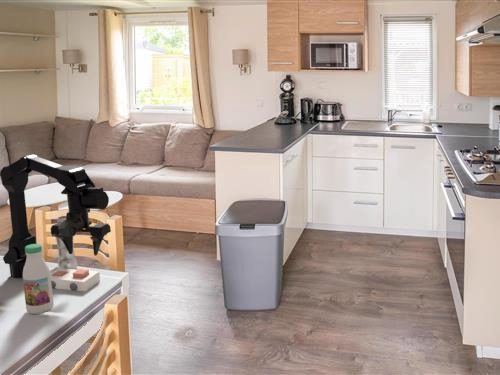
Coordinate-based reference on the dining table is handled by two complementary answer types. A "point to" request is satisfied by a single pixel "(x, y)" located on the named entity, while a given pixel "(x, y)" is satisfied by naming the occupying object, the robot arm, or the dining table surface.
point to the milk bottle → (37, 281)
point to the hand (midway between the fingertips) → (83, 254)
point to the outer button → (80, 273)
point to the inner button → (60, 273)
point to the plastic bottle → (65, 252)
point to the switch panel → (73, 280)
